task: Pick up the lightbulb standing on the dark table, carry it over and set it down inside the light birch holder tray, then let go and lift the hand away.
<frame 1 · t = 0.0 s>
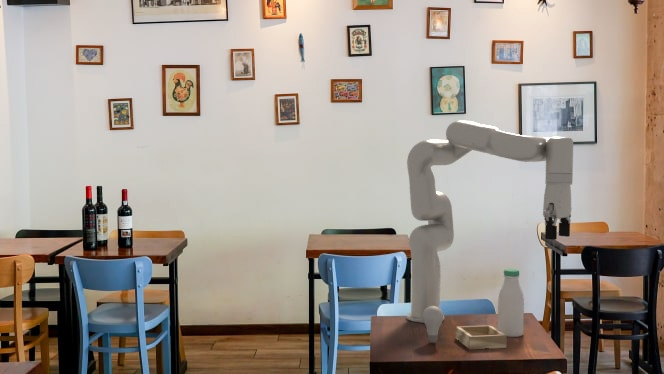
hand: (557, 237, 211), 31 cm above the table, tool pointing down, fingers open, 9 cm apart
lightbulb: (432, 343, 211), on the table
holder: (480, 342, 212), on the table
milk bottle: (510, 334, 222), on the table
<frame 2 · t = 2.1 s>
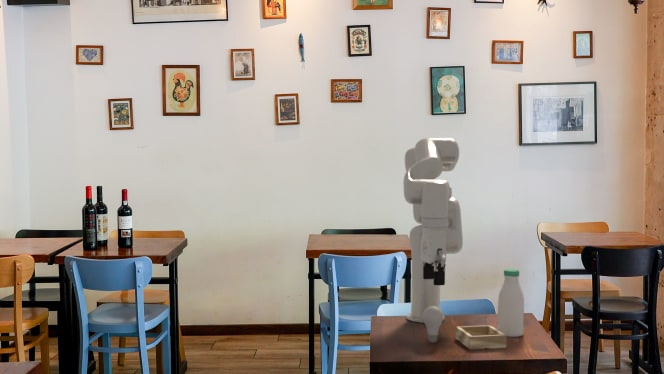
hand: (433, 282, 210), 18 cm above the table, tool pointing down, fingers open, 9 cm apart
nothing on the table moved.
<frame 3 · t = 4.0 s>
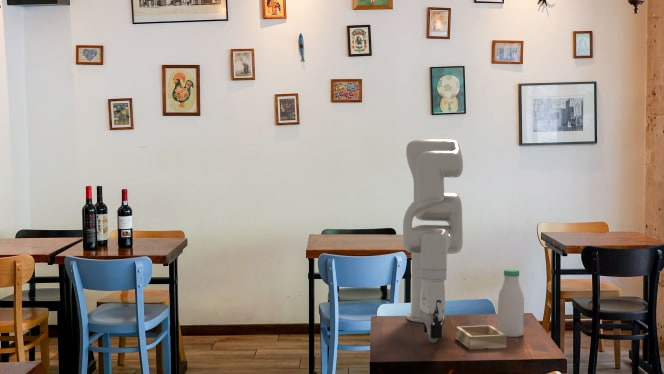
hand: (432, 334, 211), 3 cm above the table, tool pointing down, fingers closed on lightbulb, 5 cm apart
lightbulb: (432, 343, 211), on the table, touching gripper
everything else where it was.
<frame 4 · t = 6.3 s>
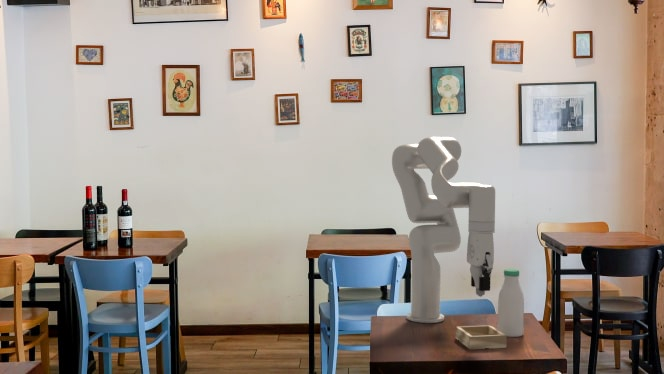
hand: (480, 287, 211), 16 cm above the table, tool pointing down, fingers closed on lightbulb, 5 cm apart
lightbulb: (480, 297, 211), point 14 cm above the table, touching gripper
everything else where it was.
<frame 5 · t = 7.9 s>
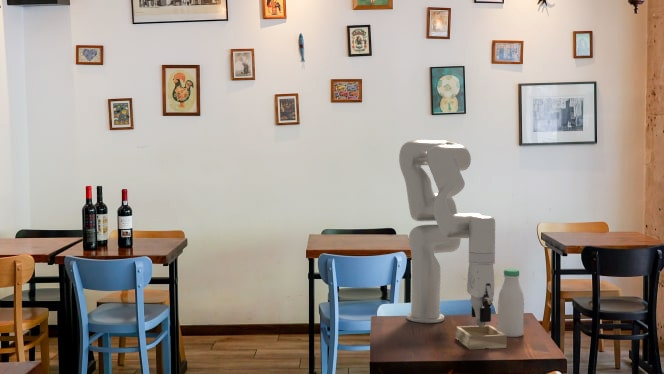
hand: (481, 318, 211), 7 cm above the table, tool pointing down, fingers closed on lightbulb, 5 cm apart
lightbulb: (481, 327, 211), point 5 cm above the table, touching gripper
everything else where it was.
when the fingers open (4 cm above the table, at t = 8.9 s): lightbulb drops 1 cm, resting on holder.
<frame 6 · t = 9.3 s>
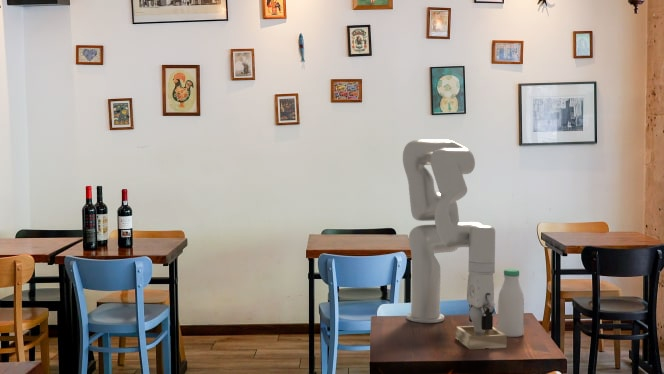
hand: (480, 325, 212), 5 cm above the table, tool pointing down, fingers open, 9 cm apart
lightbulb: (479, 340, 212), resting on holder
everything else where it was.
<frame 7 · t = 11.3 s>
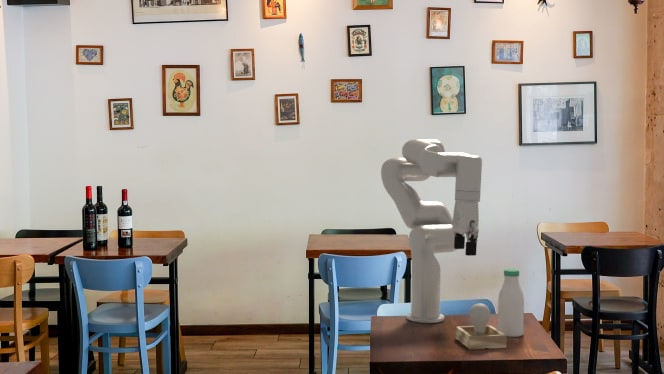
hand: (464, 252, 218), 26 cm above the table, tool pointing down, fingers open, 9 cm apart
nothing on the table moved.
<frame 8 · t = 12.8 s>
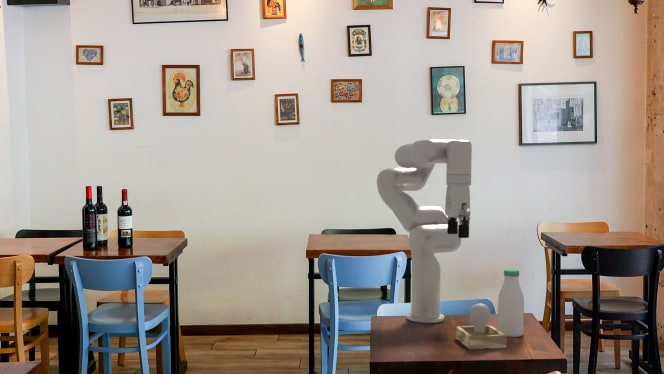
hand: (457, 235, 221), 30 cm above the table, tool pointing down, fingers open, 9 cm apart
nothing on the table moved.
at the end: lightbulb 0.7 cm from the holder (horizontally); lightbulb resting on holder; the gripper is holding nothing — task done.
